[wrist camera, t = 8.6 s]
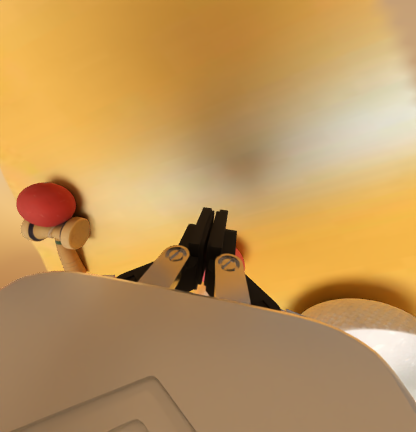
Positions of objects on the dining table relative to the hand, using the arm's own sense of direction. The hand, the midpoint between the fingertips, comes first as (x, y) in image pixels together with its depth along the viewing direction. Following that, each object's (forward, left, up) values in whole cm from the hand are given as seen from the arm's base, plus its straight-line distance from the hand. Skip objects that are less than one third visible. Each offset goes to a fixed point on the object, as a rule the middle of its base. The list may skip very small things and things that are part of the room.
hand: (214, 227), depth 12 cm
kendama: (+11, -24, -11) cm, 29 cm away
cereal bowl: (+19, +20, -10) cm, 29 cm away
